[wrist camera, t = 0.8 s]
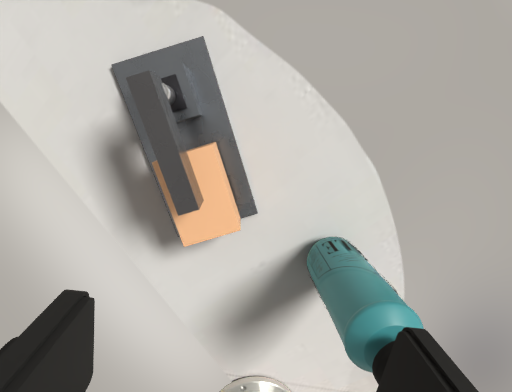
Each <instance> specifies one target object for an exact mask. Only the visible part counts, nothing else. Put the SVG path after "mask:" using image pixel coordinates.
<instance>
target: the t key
mask: <svg viewBox="0 0 512 392" xmlns="http://www.w3.org/2000/svg"><path fill="white" fill-rule="evenodd" d="M126 80H127V83H128V86H129V88H130V91H131V93H132V96H133V99H134V101H135V104H136V106H137V109H138V112H139V114H140V117H141V120H142V122H143V125H144V127H145V130H146V133H147V135H148V138H149V141H150V143H151V146H152V148H153V151H154V154H155V156H156V159H157V162H158V164H159V167H160V169H161V172H162V175H163V177H164V180H165V182H166V185H167V188H168V190H169V193H170V196H171V198H172V201H173V203H174V206H175V209H176V211H177V214H178V216H180V215H183V214H186V213H190V212H193V211H196V210H199V209H200V207H201V205H202V203H203V201H204V199H203V197H202V194H201V191H200V188H199V185H198V182H197V180H196V177H195V174H194V171H193V168H192V165H191V163H190V160H189V157H188V154H187V151H186V148H185V146H184V143H183V140H182V137H181V134H180V131H179V129H178V126H177V123H176V120H175V117H174V114H173V112H172V109H171V105H172V104H173V103H174V101H175V98H176V96H175V92H174V90H173V89H172V88H171V87H170V86H168V85H166V84H164V83H162V80H161V78H160V76H158V75H156V74H155V73H153V72H151V71H149V70H148V71H145V72H142V73H139V74H136V75H132V76H129V77H126Z"/></svg>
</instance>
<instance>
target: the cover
mask: <svg viewBox="0 0 512 392" xmlns="http://www.w3.org/2000/svg"><path fill="white" fill-rule="evenodd" d="M187 154H188V157H189V160H190V163H191V165H192V168H193V171H194V174H195V177H196V180H197V182H198V185H199V188H200V191H201V194H202V197H203V199H204V201H203V203H202V205H201V207H200V209H199V210H196V211H193V212H190V213H186V214H183V215H180V216H178V214H177V211H176V209H175V206H174V203H173V201H172V198H171V196H170V193H169V190H168V188H167V185H166V182H165V180H164V177H163V175H162V172H161V169H160V167H159V164H158V162H157V160H156V161H154V162H152V165H153V168H154V170H155V173H156V175H157V178H158V181H159V183H160V186H161V188H162V191H163V194H164V196H165V199H166V201H167V204H168V206H169V209H170V212H171V214H172V217H173V219H174V222H175V225H176V227H177V230H178V232H179V235H180V237H181V240H182V243H183V245H184V247H185V246H189V245H192V244H196V243H199V242H202V241H206V240H209V239H213V238H216V237H219V236H223V235H226V234H229V233H233V232H236V231H240V215H239V212H238V209H237V206H236V203H235V200H234V196H233V193H232V190H231V187H230V184H229V181H228V178H227V175H226V172H225V169H224V166H223V163H222V160H221V156H220V153H219V150H218V147H217V144H216V142H213V143H210V144H206V145H203V146H200V147H197V148H193V149H190V150H187Z"/></svg>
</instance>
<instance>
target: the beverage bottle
mask: <svg viewBox="0 0 512 392" xmlns="http://www.w3.org/2000/svg"><path fill="white" fill-rule="evenodd" d="M361 254H362V253H361V252H360V251H359V250H358V249H356V248H355V247H354V246H353V245H351V244H350V243H349V241H346V240H345V239H342V238H341V237H340V238H338V237H327V238H324V239H321V240H319V241H318V242H316V243H315V244H314V245H313V246H312V248H311V249H310V251H309V253H308V256H307V267H308V270H309V273H310V275H311V277H312V279H313V280H312V281H314V283H315V284H314V285H315V288H316V287H317V289H318V290H317V289H316V290H317V291H318V292H319V293H320V296H321V297H320V296H319V297H320V298H321V299H322V300H323V302H324V304H325V305H326V307H327V308H326V309H327V310H328V312H329V314H330V316H331V318H332V320H333V322H334V324H335V327H336V329H337V331H338V333H339V335H340V337H341V340H342V342H343V344H344V347H345V351H346V353H347V355H348V357H349V358H350V360H351V361H352V362H353V363H354V364H355V365H356V366H358V367H359V368H361V369H363V370H365V371H368V372H372V373H373V375H374V377H375V379H376V381H377V383H378V384H379V383H380V380H381V378H382V375H383V372H384V369H385V367H386V364H387V361H388V358H389V356H390V353H391V350H392V347H393V345H394V342H395V339H396V336H397V334H398V332H400V331H402V330H403V328H405V327H412V328H421V329H424V328H423V325H422V322H421V320H420V318H419V317H418V315H417V314H416V313H415V312H414V311H413V310H412V309H411V308H410V307H408V306H407V305H406V303H405V302H404V301H403V300H402V299H401V298H400V297H399V296H398V295H397V294H396V293H397V291H396V289H394V290H393V289H392V288H391V287H390V286H389V285H388V283H389V282H388V283H387V282H386V281H385V279H383V278H382V277H381V276H380V275H379V273H377V271H376V269H374V268H373V267H372V266H371V264H369V263H368V262H367V261H366V260H367V259H366V258H365V257H364V256H362V255H361ZM363 257H364V258H365V259H364V258H363ZM389 284H390V283H389ZM319 293H318V294H319Z"/></svg>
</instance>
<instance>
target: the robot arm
mask: <svg viewBox="0 0 512 392" xmlns="http://www.w3.org/2000/svg"><path fill="white" fill-rule="evenodd" d="M93 350H94V298H90V297H89V294H88V292H85V291H75V290H64V291H63V292H62V293H61V294H60V295H59V296H58V297H57V298H56V299H55V300H54V301H53V302H52V303H51V304H50V305H49V306H48V307H47V308H46V309H45V310H44V311H43V313H41V314H40V316H38V317H37V318H36V319H35V320H34V321H33V323H32V324H31V325H30V326H29V327H28V328H27V329H26V330H25V331H24V332H23V333H22V334H21V335H20V336H19V337H16V338H13V339H12V340H10V341H9V342H8V343H7V344H5V346H3V348H1V350H0V392H85V391H86V389H87V387H88V385H89V383H90V381H91V378H92V374H93V352H94V351H93ZM220 392H291V391H290V390H289V389H288V388H287V387H286V386H285V385H283V384H282V383H281V382H279V381H276V380H274V379H271V378H267V377H258V376H255V377H246V378H242V379H239V380H236V381H234V382H232V383H230V384H228V385H227V386H225V387H224V388H223V389H222V390H221V391H220ZM376 392H478V391H477V389H476V388H475V387H474V386H473V385H472V383H471V382H470V381H469V380H468V379H467V377H465V375H464V374H463V373H462V372H461V370H460V369H459V368H458V367H457V366H456V364H455V363H454V362H453V361H452V360H451V358H450V357H449V356H448V355H447V354H446V353H445V351H444V350H443V349H442V348H441V347H440V345H439V344H438V343H437V342H436V341H435V340H434V338H433V337H432V336H431V335H430V334H429V333H428V331H426V330H425V329H421V328H412V327H405V328H403V330H402V331H400V332H398V334H397V336H396V339H395V342H394V345H393V347H392V350H391V353H390V356H389V358H388V361H387V364H386V367H385V369H384V372H383V375H382V378H381V380H380V383H379V386H378V389H377V391H376Z"/></svg>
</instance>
